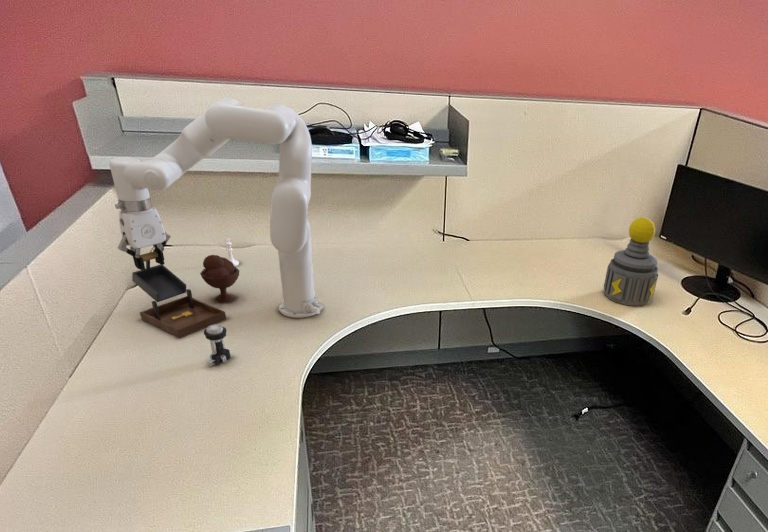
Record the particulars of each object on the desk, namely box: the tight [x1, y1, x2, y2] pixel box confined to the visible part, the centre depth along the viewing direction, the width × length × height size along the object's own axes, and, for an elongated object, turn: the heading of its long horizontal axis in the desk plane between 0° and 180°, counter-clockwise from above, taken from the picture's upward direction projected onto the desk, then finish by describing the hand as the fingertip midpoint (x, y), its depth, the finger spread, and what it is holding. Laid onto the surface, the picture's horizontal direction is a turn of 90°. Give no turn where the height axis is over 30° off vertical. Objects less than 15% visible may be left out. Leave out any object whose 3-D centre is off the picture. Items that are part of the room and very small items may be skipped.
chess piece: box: [224, 236, 240, 267], centre depth 202 cm, size 5×5×10 cm
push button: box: [203, 323, 231, 367], centre depth 147 cm, size 7×5×10 cm
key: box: [172, 311, 193, 320], centre depth 167 cm, size 6×2×1 cm, turn 149°
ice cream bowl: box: [199, 254, 240, 304], centre depth 176 cm, size 11×11×15 cm
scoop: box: [131, 250, 187, 303], centre depth 164 cm, size 12×9×8 cm
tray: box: [139, 288, 227, 339], centre depth 165 cm, size 17×15×7 cm
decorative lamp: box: [603, 216, 659, 307], centre depth 204 cm, size 19×19×30 cm
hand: (150, 265), depth 164 cm, fingers closed on scoop, 5 cm apart
